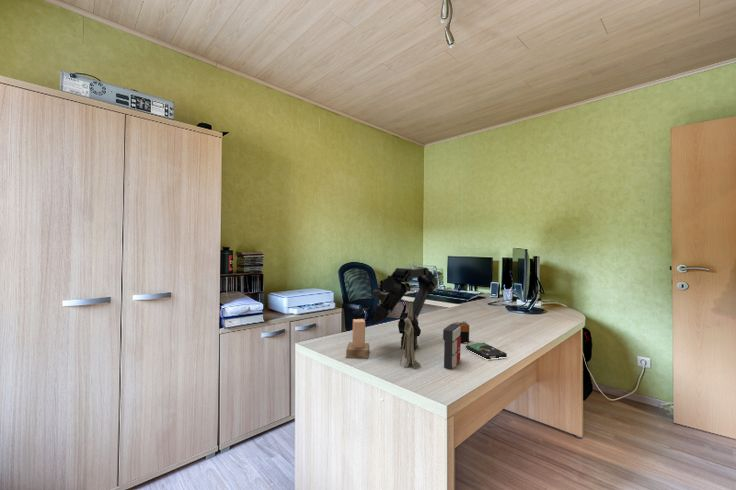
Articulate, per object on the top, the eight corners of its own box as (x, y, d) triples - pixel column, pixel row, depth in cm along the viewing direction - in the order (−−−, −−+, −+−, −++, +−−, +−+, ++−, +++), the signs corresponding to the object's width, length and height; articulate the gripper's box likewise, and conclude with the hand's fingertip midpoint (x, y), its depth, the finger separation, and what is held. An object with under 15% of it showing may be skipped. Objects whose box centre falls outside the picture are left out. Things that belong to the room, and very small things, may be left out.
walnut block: (369, 352, 135) (369, 343, 135) (367, 360, 126) (368, 350, 126) (349, 351, 136) (349, 342, 136) (346, 358, 127) (346, 349, 127)
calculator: (453, 370, 116) (454, 331, 116) (442, 367, 119) (443, 329, 119) (461, 361, 126) (461, 324, 126) (450, 359, 128) (451, 323, 128)
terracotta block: (362, 343, 134) (363, 318, 133) (364, 347, 129) (365, 321, 129) (352, 344, 133) (352, 319, 132) (354, 348, 128) (354, 322, 128)
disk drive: (507, 359, 130) (483, 347, 144) (507, 353, 130) (483, 342, 144) (487, 362, 127) (465, 349, 141) (487, 355, 127) (465, 343, 141)
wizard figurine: (395, 360, 125) (396, 299, 125) (414, 358, 127) (416, 298, 127) (404, 370, 115) (405, 304, 115) (425, 368, 117) (426, 303, 117)
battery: (469, 343, 149) (469, 322, 149) (456, 343, 148) (456, 323, 148) (464, 340, 154) (465, 320, 154) (452, 340, 152) (452, 320, 152)
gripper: (385, 281, 145) (365, 306, 146) (377, 284, 126) (354, 313, 128) (404, 296, 142) (383, 322, 144) (398, 302, 124) (374, 331, 126)
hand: (374, 321), depth 136 cm, fingers open, 9 cm apart
